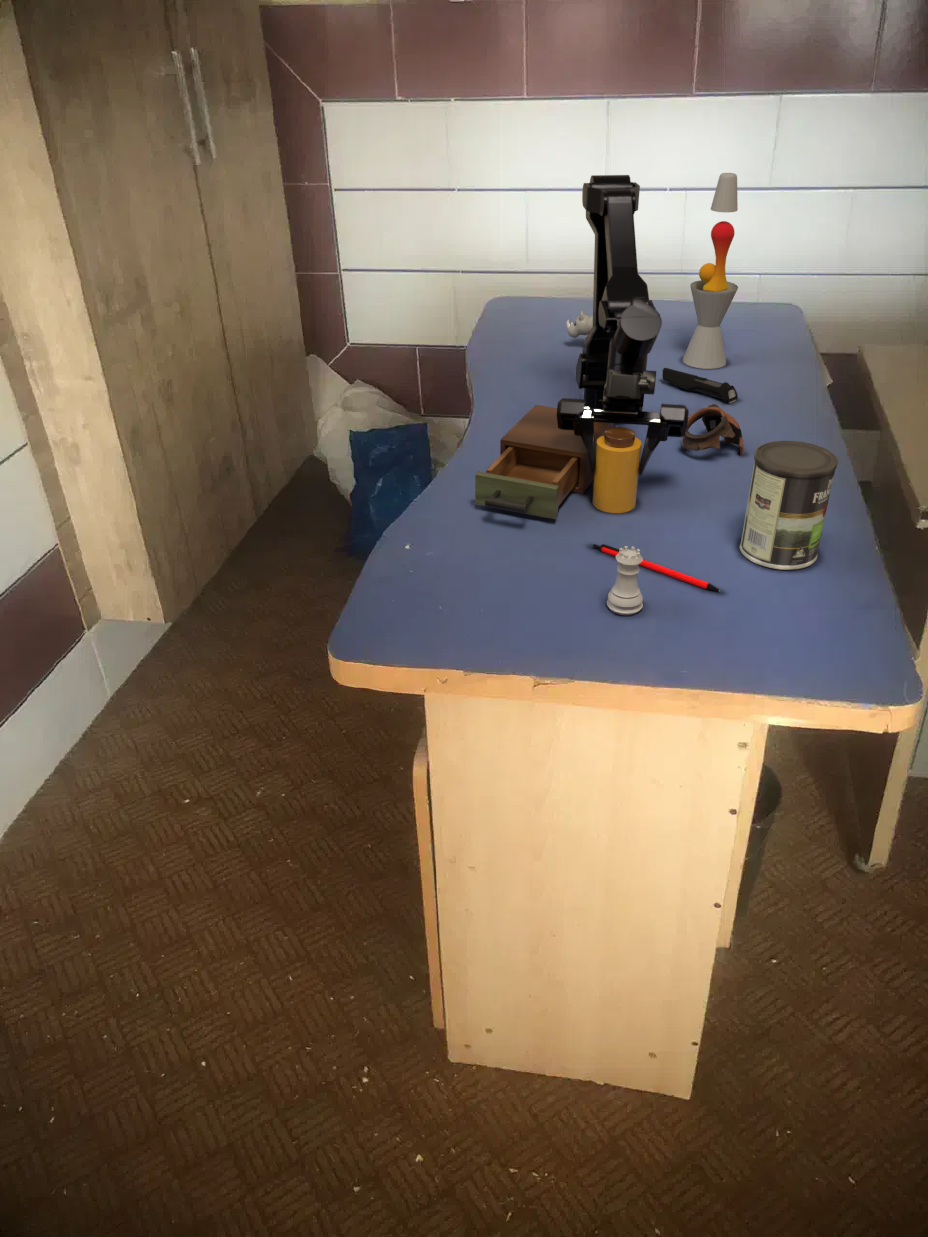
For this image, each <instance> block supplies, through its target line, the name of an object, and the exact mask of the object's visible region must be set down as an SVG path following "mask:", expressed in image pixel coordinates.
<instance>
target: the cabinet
mask: <svg viewBox="0 0 928 1237" xmlns="http://www.w3.org/2000/svg"><path fill="white" fill-rule="evenodd" d="M613 427H616V423H603V422H594V444H595V458H596V444H597V439H598V438H599V437H601V436H603V435H604V432H605V430H607V429H609V428H613ZM499 443H500V446H499V447H500V448H499V451H500V452H499V456H500V455H501V454H502V453H503V452H504V451H505V450H506V449H507V448H508V447H509V446H514V447H520V448H526V449H532V450H539V451H545V452H551V453H557V454H563V455H569V456H575V457H581V458H580V471H579V481H578V482H577V483H576V485H575V486H574V487H573V489H572V490H571V491H570V493H572V492H573V493H578V494H584V493H585V491H587V489H588V488H589V486H590V485H591V484H592V483H593V482H594V472H595V470H594V472H591V468H590V463H589V459H588V455H587V451H586V448H585V445H584V443H583V440H582V438H581V436H576V435H574V430H561V429H559V428H558V423H557V407H554V406H546V405H540V404H535V405H533V407H531V409H529V411H527V413H525V415H524V416H522V417H521V419H519V421H517V422H516V423H515V424H514V426H512V427H511V428H510V429H509V430H508V431H507V432H506V433H505V434H504V435H503V436H502V438H500V441H499Z"/></svg>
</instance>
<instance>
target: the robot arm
mask: <svg viewBox="0 0 928 1237" xmlns="http://www.w3.org/2000/svg"><path fill="white" fill-rule="evenodd" d="M640 190H641V185H640V184H638V183H637V182H635V181H634V182H633V181H631V177H630V175H629V174H603V175H602V174H601V175H600V174H598V175H597V174H596V175H593V174H592V175H590V179H589V182H584V183H583V184H582V192H581V202H582V207H583V209H585V219H586V222H587V223H588V225H589V227H590V228H591V230H592V232H593V234H594V252H593V253H594V254H593V256H594V259H593V293H592V294H593V297H592V298H593V299H592V315H593V327H592V329H591V330H590V332H589V334H587V335H586V337H585V338H584V340H583V342H582V350H581V351H582V352H580V353H579V354H578V358H577V362H576V365H575V383H576V385H577V388H578V390H583V398H568V397H562V398H560V400H558V401H557V406H556V408H557V423H558V428H559V429H561V430H574V435H576V436H581V438H582V440H583V443H584V445H585V448H586V451H587V455H588V459H589V463H590V468H591V472H594V470H595V444H594V422H603V423H615V424H621V425H622V424H623V425H636V426H637V425H638V426H647V430H646V435H645V439H644V443H643V448H642V451H641V456H640V466H639V476H641V477H642V475H643V473H644V471H645V468H646V467H647V465H648V462H649V460H650V458H651V456H652V455H653V453H654V452H655V450H656V448H657V447H658V446H659V444H660V442H667V441H668V439H669V438H670V437H671V438H683V437H684V436H685V433H686V428H687V423H688V417H689V414H690V412H689V408H688V407H687V406H686V405H685V404H671V403H661V405H660V411H645V410H644V411H643V409H644V404H645V402H644V401H645V395H651V396H653V395H655V391H656V380H657V370H647V366H648V357H649V356H648V355H649V354H650V353H651V351H652V349H653V347H654V344H655V342H656V340H657V338H658V336H659V334H660V331H661V329H662V324H663V320H662V317H661V314H660V313H659V311H658V310H657V309H656V307H655V305H654V302H653V300H652V299H650V297H649V296H650V295H649V289H648V284H647V282H646V281H645V280H644V279H643V278H642V276H641V275H640V274H639V269H638V258H637V257H638V256H637V244H636V241H637V240H636V232H635V231H636V228H635V216H634V215H635V213H636V212H637V211H639V204H640V193H641V192H640ZM668 437H669V438H668Z"/></svg>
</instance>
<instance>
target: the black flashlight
mask: <svg viewBox="0 0 928 1237" xmlns="http://www.w3.org/2000/svg"><path fill="white" fill-rule="evenodd" d="M661 376H662V380H663V381H664V382H667V383H670V384H672V385H673V386H677V387H679V388H680V389H684V390H685V391H689V392H693V391H695V392H698V393H702V394H705V395H708V396H711V397H713V398H718V399H721V400H722V402H723V403H724V404H727V403H728V404H732V403H734V402H736V401H737V400H738V392H737V389H736V388H735V386H734V385H731V384H730V383H729V382H726V381H724V382H723V383H722V382H718V381H716V380H711V379H709V378H708V377H702V376H698V375H697V374H696V375H695V374H692V373H687V372H684V371H679V370H676V369H673V368H668V367H663V368H662V375H661Z"/></svg>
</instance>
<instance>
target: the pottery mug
mask: <svg viewBox="0 0 928 1237" xmlns="http://www.w3.org/2000/svg"><path fill="white" fill-rule="evenodd" d="M699 420H701V421H702V422H703V425H704V427H705V430H706V431H705V433H702V434H694V433H691V432H690V431H689V430H690V428H691V427H692V425H694V424H695V423H696V422H697V421H699ZM721 437H722V438H724V439H723V441H724V442H723V443H724V444H733V445H736V446H738V448H739V455H740V456H743V455H744V452H745V450H744V438H743V433H742V429H741V428H740V424H739V422H738V421H737V420H736V419H735V417H733V416H732V415H731V414H728V413H726V411H725V410H723V409H722V408H721V407H720V406H719V405H718V404H716V403H713V404H709V405H708V406H707V407H703V408H701V409H697V411H695V412H693V413H691V415H689V416H688V423H687V428H686V433H685V436H684V437H681V438H682V439H681V443H682V449H683V451H687V450H689V451H695V452H697V451H700V450H703V451H705V450H707V449H711V448H715V449H717V450H721V445H720V443H721V442H720V438H721Z"/></svg>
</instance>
